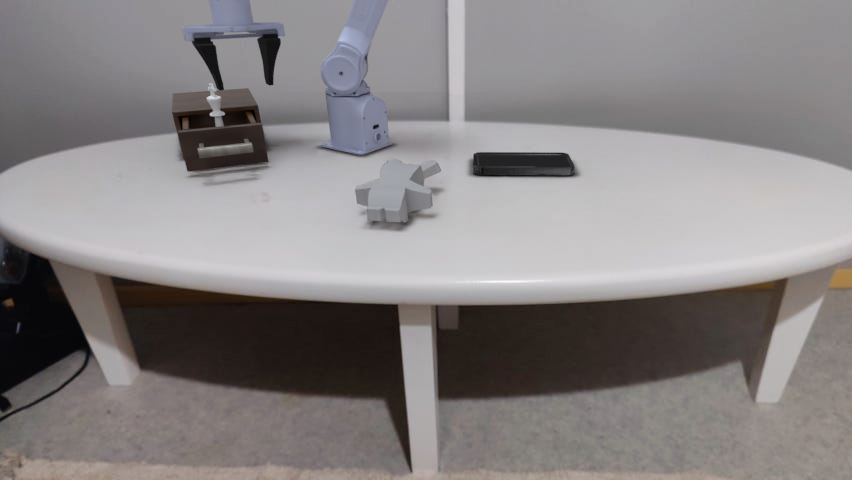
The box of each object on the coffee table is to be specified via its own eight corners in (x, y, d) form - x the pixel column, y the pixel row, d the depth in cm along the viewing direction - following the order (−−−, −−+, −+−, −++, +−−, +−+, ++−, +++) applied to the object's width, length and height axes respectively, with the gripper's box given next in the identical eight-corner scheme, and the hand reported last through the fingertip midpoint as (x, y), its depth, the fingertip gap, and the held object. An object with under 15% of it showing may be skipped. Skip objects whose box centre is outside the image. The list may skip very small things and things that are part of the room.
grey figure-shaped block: (340, 194, 64) (378, 143, 76) (347, 233, 67) (382, 178, 79) (421, 199, 63) (447, 147, 75) (424, 238, 66) (448, 181, 78)
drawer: (273, 171, 81) (266, 132, 78) (187, 181, 77) (177, 141, 74) (258, 138, 96) (251, 104, 94) (186, 146, 92) (177, 110, 89)
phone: (473, 152, 89) (567, 152, 89) (473, 159, 89) (567, 159, 89) (473, 167, 82) (575, 168, 82) (473, 175, 82) (574, 175, 82)
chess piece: (232, 144, 89) (218, 79, 84) (248, 150, 86) (235, 83, 82) (201, 151, 86) (185, 83, 81) (217, 157, 83) (202, 88, 78)
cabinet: (266, 150, 93) (257, 105, 90) (183, 159, 88) (171, 112, 85) (255, 128, 105) (248, 88, 102) (183, 135, 101) (172, 93, 97)
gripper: (179, -6, 77) (202, 95, 84) (284, -8, 84) (298, 86, 91) (171, -8, 82) (193, 88, 89) (271, -9, 89) (284, 79, 96)
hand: (245, 86), depth 90 cm, fingers open, 7 cm apart
